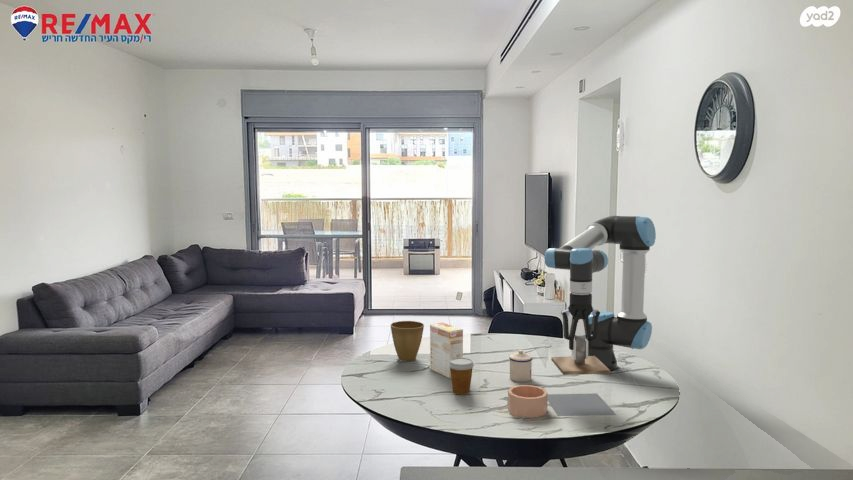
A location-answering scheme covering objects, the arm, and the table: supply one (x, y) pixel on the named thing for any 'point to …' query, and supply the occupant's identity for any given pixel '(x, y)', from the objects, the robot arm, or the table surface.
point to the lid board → (580, 369)
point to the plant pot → (407, 339)
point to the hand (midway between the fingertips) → (579, 358)
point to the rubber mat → (579, 404)
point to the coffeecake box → (444, 347)
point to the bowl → (527, 401)
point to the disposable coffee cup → (461, 375)
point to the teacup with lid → (520, 366)
